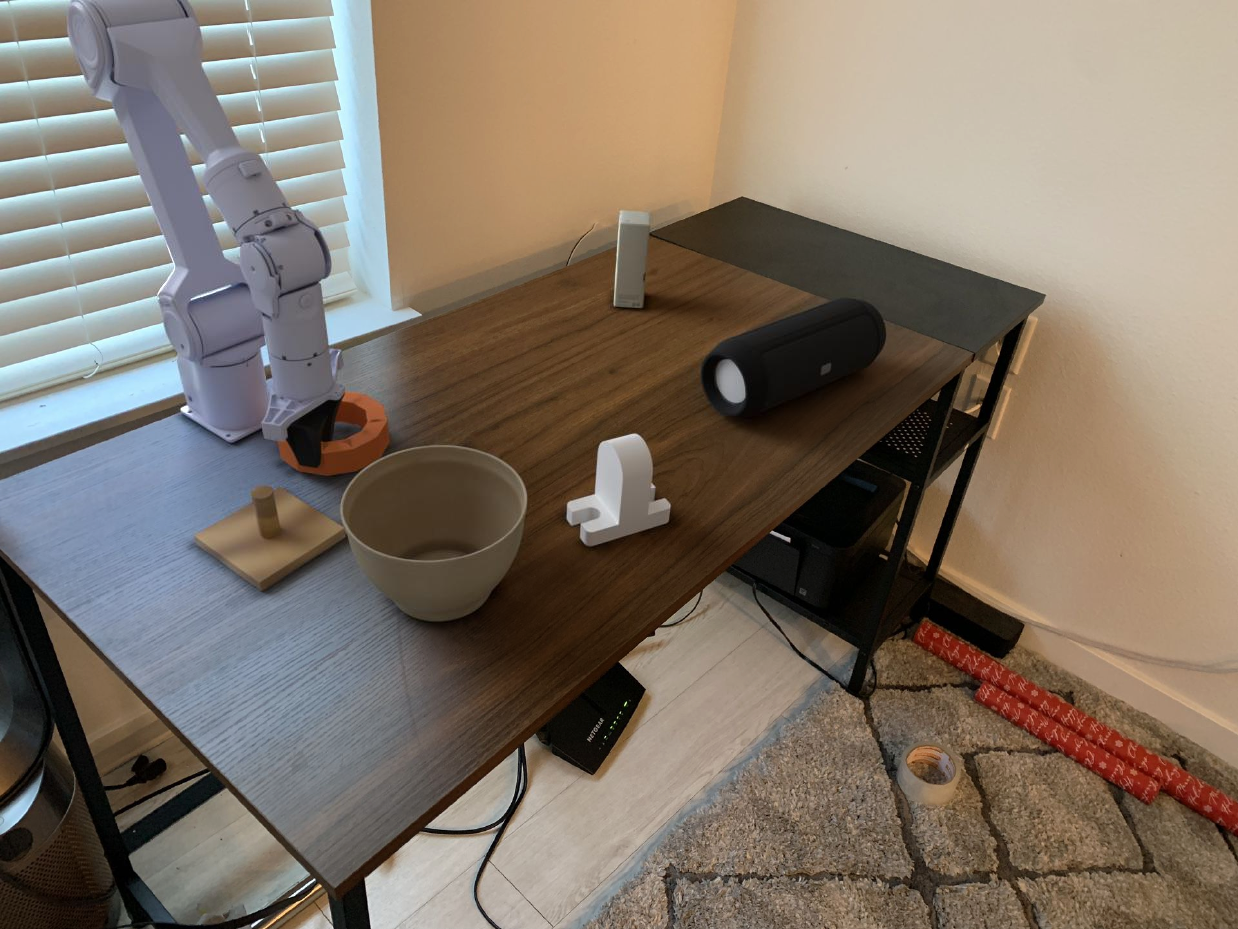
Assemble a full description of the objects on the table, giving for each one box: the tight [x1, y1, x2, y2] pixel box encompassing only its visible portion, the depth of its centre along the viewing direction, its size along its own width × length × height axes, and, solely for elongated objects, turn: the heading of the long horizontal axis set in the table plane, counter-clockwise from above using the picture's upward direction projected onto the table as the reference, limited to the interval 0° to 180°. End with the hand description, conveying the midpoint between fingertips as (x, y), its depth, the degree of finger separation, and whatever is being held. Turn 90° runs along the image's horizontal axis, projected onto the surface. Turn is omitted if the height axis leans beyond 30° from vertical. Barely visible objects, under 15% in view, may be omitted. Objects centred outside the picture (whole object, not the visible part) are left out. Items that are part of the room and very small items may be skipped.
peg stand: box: [193, 485, 347, 592], centre depth 91 cm, size 10×10×6 cm
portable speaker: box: [700, 297, 887, 418], centre depth 119 cm, size 26×10×10 cm, turn 129°
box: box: [613, 209, 651, 309], centre depth 135 cm, size 5×4×13 cm
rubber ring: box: [277, 390, 391, 477], centre depth 103 cm, size 12×12×3 cm
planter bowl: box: [339, 444, 528, 622], centre depth 86 cm, size 16×16×11 cm
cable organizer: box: [566, 433, 671, 547], centre depth 96 cm, size 5×10×10 cm, turn 119°
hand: (315, 457), depth 100 cm, fingers closed on rubber ring, 2 cm apart
